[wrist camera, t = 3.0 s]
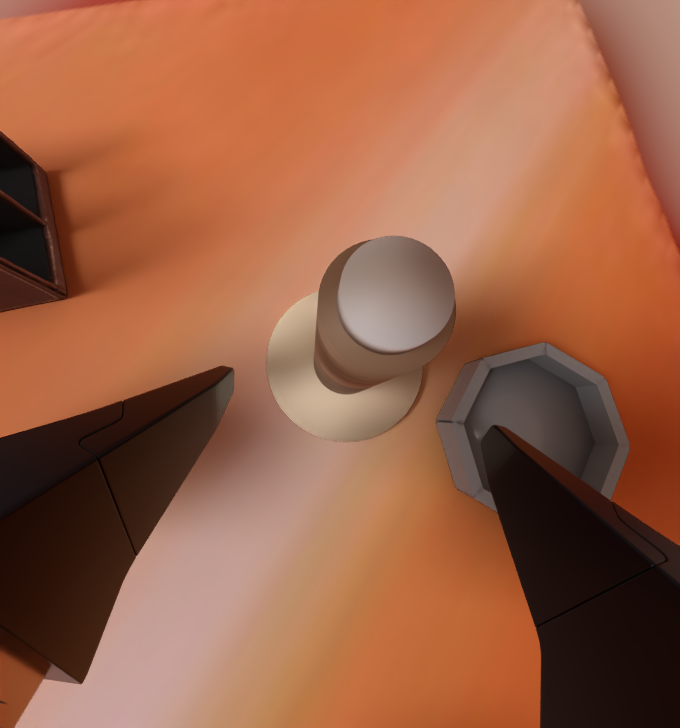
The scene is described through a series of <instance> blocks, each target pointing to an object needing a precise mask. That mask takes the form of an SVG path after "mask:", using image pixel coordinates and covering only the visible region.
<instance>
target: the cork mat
mask: <svg viewBox="0 0 680 728" xmlns="http://www.w3.org/2000/svg"><path fill="white" fill-rule="evenodd" d="M318 293H319V291H316V292H314V293H312V294H309V295H307V296H306V297H304V298H302V299H301V300H299V301H298V302H297V303H295V304H294V305H293V306H292V307H291V308H290V309H289V310H288V311H287V312H286V313H285V314H284V315H283V316H282V318H281V319H280V320H279V322H278V324H277V326H276V327H275V329H274V331H273V334H272V336H271V339H270V342H269V346H268V351H267V375H268V381H269V384H270V387H271V391H272V393H273V395H274V397H275V399H276V401H277V403H278V404H279V406H280V408H281V409H282V410H283V412H284V413H285V414H286V415H287V416H288V418H289V419H291V420H292V421H293V422H294V423H295V424H296V425H297V426H299V427H300V428H302V429H303V430H305V431H306V432H308V433H310V434H312V435H314V436H317V437H320V438H323V439H326V440H331V441H335V442H357V441H362V440H366V439H370V438H372V437H375V436H378V435H380V434H382V433H383V432H385V431H387V430H388V429H390V428H391V427H393V426H394V425H395V424H396V423H398V422H399V421H400V420H401V419H402V418H403V417H404V415H405V414H406V413H407V412H408V411H409V409H410V407H411V406H412V404H413V403H414V401H415V398H416V396H417V394H418V391H419V388H420V385H421V380H422V374H423V366H421V367H419V368H417V369H415V370H412V371H410V372H408V373H405V374H403V375H400V376H398V377H395V378H393V379H390V380H388V381H385V382H383V383H380V384H378V385H375V386H373V387H371V388H368V389H366V390H363V391H361V392H358V393H355V394H347V395H346V394H339V393H336V392H333V391H331V390H329V389H328V388H326V387H325V386H324V385H323V384H322V383H321V382H320V380H319V379H318V377H317V375H316V373H315V369H314V347H315V333H316V319H317V305H318Z"/></svg>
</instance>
